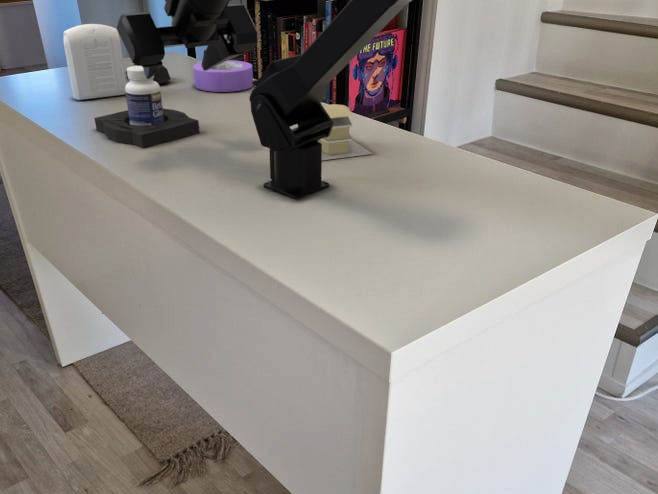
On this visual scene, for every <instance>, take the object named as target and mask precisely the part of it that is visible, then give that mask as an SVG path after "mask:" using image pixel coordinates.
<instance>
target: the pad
mask: <svg viewBox="0 0 658 494" xmlns="http://www.w3.org/2000/svg"><path fill="white" fill-rule="evenodd" d="M162 109H163V117H164V123H160V124H156V125H147V126H137V125H130V120H129V113H128V109H126V110H123V111H117V112H115V113H110V114H106V115H101V116H97V117H94V123H95V130H96V131H97V132H99V133H102V134H105V136H106V138H107V139H108V140H111V141H113V142H116V143H119V144H120V143H122V144H127V145H134V146H137V147H139V148H141V149H144V148H149V147H151V146H155V145H160V144H163V143H169V142H172V141H176V140H180V139H181V138H186V137H189V136H193V135H196V134H200V133H201V132H200V122H199V119H197V118H196V119H195V118H192V117H189V116H188V115H187V114H186V112H184V111H183V112H182V111H180V110H177V109H172V108H171V109H170V108H164V107H162Z"/></svg>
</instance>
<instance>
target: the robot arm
mask: <svg viewBox="0 0 658 494" xmlns="http://www.w3.org/2000/svg"><path fill="white" fill-rule="evenodd" d="M164 1H165V4H164V7H163V10H164V11H165V14H166V16H167V17H171V25H170V26H160V27H159V26H158V27H157V26H156V23H155V22H154V21H155V20H154V19H153V17H152V15H151V13H150V12H145V11H143V12H132V13H123V14H122V13H121V15H120V16H119V18H118V21H117V25H116V29H117V31H118V34H119V38H120V40H121V41H122V43H123V45H124V47H125V49H126V53H127V55H128V56H129V59H130V61H131V63H132V64H133V65H134V64H136V65H137V66H142V67H143V70H144V74H145V76H146V78H147V79H150V78H151V77H152V76H153V75H154V74H155V73H156V72H157V71H158V69H159V68H160V67H161V66H162V65H163V64H164V63H163V61H162V60H164V58H165V55H166V51H165V48H174V47H182V46H183V47H185V49H189V48H198V47H205V46H206V49H205V51H204V54H203V56H202V61H201V62H202V64H201V65H202V68H203V70H204V71H207V70H209V69H211V68H213V67H215V66H217V65H219V64H221V63H223V62H225V61H227V60H233V59H234V58H236V57H238V56H241V55H245V53H246V52H247V53H248V52H253V51H254V50H255V48H256V46H257V45H258V42H259V38H260V37H259V31H258V29H257V28H256V25H255V23H254V21H253V19H252V16H251V15H250V13H249V10H248V8H247V7H246V6H245V4H243V3H232V4H229V3H230V2H231V1H232V0H164ZM412 1H413V0H349V2H348V3H346V4H345V6H344V7H343V8H342V9H341V10H340V11H339V12H338V14H336V16H335V17H334V18H333V19H332V20H331V21H330V23H329V24H327V26H326V27H325V28H324V29H323V30H322V31H321V33H320V34H318V36H317V37H316V38H315V39H314V41H312V43H311V44H310V45H308V47H307V48H306V49H305V50H304V51H303V53H302V54H301V53H300V54H296V55H293V56H289V57H285V58H281V59H278V60H277V59H276V60H273V61H270V62H269V64H268V65H267V66H266V67H265V70H263V73H262V75H261V76H260V77H259V78H257V79H255V80H253V82H252V84H253V86H255V87H254V88H253V89H252V90H251V92H250V94H249V98H248V99H249V102H250V112H251V116H252V119H253V123H254V126H255V130H256V132H257V136H258V139H259V143H260V146H262V147H264V148H268V149H269V176H270V177H269V178H270V180H269V181H266V182H263V186H262V187H263V188H264V189H266V190H269V191H271V192H275V193H277V194H280V195H282V196H285V197H288V198H290V199H294V200H300V199H303V198H305V197H309V196H310V195H314V194H316V193H318V192H322V191H323V190H326V189H329V188H330V182H327V181H324V180H322V176H323V175H322V171H323V170H322V169H323V167H322V165H323V164H322V163H323V162H322V161H323V160H322V143H319V142H318V140H320V139H322V138H325V137H329V136H330V133H331V130H332V127H333V121H332V119H331V118H330V116H329V115H328V113H327V112H326V110H325V109H324V107H323V106H324V105H322V103H323V101H324V100H325V96H326V93H327V89H328V85H330V82H331V81H333V79H334V78H336V77H337V75H338V74H340V72H342V71H343V69H344V68H346V67H347V65H348V64H350V62H351V61H352V60H353V59H354V58H355V57H356V56H357V55H358V54H359V53H360V52H361V51H362V50H363V49H364V48H365V47H366V46H367V45H368V44H369V43H371V41H373V39H374V38H375V37H376V36H377V35H378V34H379V33H380V32H381V31H382V30H383V29H384V28H385V27H386V26H387V25H388V24H389V23H390V22H391V21H392V20H393V19H394V18H395V17H396V16H397V15H398V14H399V13H400V12H401V11H402V10H403V9H404V8H405V7H406V5H408V4H409V3H411V2H412ZM163 66H164V65H163ZM296 125H297V127H294V128H291V127H293V126H296Z"/></svg>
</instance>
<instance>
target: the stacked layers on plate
mask: <svg viewBox="0 0 658 494" xmlns="http://www.w3.org/2000/svg"><path fill="white" fill-rule="evenodd" d="M322 106H323V107H324V109H325V110H326V112H327V113H328V115H329V116H330V118H331V119H332V121H333V127H332V130H331V133H330V136H329V137H325V138H322V139H320V140H318V142H319V143H322V161H328V160H337V159H345V158H352V157H360V156H366V155H373V152H371V151H370V150H368V149H367V148H365V147H363V146H362V145H361V144H359V143H358V142H356V141H355V140H353V139H352V138H353V137H352V136H351V134H350V128H352V127H353V123H352V121H351V119H350V117H353V114H352V111H351V110H350V108H349V107H348V106H346V105H345V104H336V103H332V104H327V105H322Z"/></svg>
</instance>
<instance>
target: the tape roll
mask: <svg viewBox="0 0 658 494" xmlns="http://www.w3.org/2000/svg"><path fill="white" fill-rule="evenodd" d="M201 64H202V61H201V62H197V63H194V65H193V66H192V67H193V69H192V70H193V79H194V80H193V81H194V87H195V88H196V89H197V90H201V91H205V92H213V93H230V92H231V93H233V92H240V91H245V90H248V89H251V88H252V87H254V85H253V84H252V82H253V81H254V73H253V72H254V69H253V64H252V63H249V62H246V61H241V60H233V59H230V60H227V61H225V62H223V63H221V64H219V65H217V66H215V67H213V68H211V69H209V70H207V71H204V70H203V68H202V65H201Z"/></svg>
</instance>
